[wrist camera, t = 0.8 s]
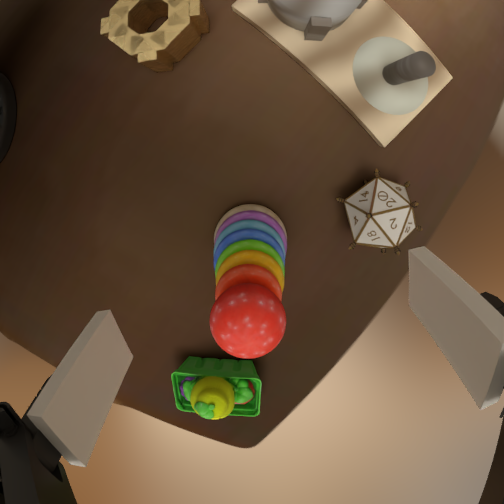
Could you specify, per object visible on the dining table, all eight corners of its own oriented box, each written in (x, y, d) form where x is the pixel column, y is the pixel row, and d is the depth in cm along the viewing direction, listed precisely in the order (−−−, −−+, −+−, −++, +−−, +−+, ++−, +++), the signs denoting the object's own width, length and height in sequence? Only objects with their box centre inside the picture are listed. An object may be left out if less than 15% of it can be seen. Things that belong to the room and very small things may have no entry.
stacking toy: (202, 248, 37) (158, 351, 19) (238, 188, 34) (216, 251, 17) (261, 281, 38) (263, 399, 21) (299, 226, 36) (336, 318, 18)
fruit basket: (183, 387, 45) (168, 444, 34) (177, 341, 42) (156, 400, 31) (259, 391, 45) (259, 452, 34) (262, 345, 42) (262, 408, 31)
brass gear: (116, 41, 28) (93, 28, 23) (165, -11, 26) (150, -32, 20) (165, 78, 30) (147, 69, 24) (217, 25, 28) (209, 5, 22)
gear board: (232, 10, 27) (224, -25, 19) (311, -50, 24) (324, -90, 15) (379, 146, 32) (416, 153, 24) (446, 79, 29) (491, 71, 20)
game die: (344, 200, 38) (306, 200, 30) (398, 160, 33) (376, 146, 25) (381, 264, 36) (354, 282, 29) (440, 227, 32) (433, 235, 24)
